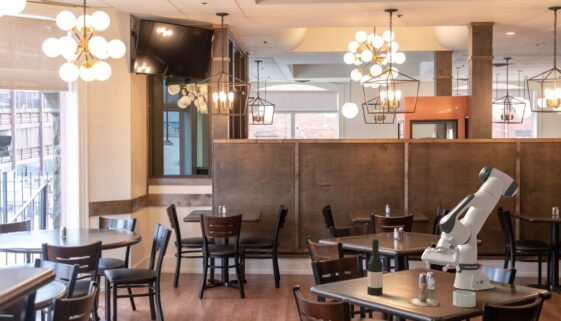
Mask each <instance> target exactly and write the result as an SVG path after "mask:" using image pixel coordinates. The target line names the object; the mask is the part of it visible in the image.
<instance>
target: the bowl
mask: <svg viewBox="0 0 561 321" xmlns="http://www.w3.org/2000/svg"><path fill="white" fill-rule="evenodd" d="M476 298H477V296H476V292H475V291H472V290H455V291H454V290H453V291H452V305H453V306H455V307H459V308H460V307H461V308H474V307H476V306H477V305H476V303H477V301H476V300H477V299H476Z"/></svg>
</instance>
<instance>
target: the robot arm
mask: <svg viewBox="0 0 561 321" xmlns="http://www.w3.org/2000/svg"><path fill="white" fill-rule="evenodd" d="M478 180H479V181H480V182H481V183H482V185H481V186H480V188H478V190H477V192H474V193H469V194H468V195H466V196H465V197H463V199H461V200H460V201H459V202H458V203H457V204H456V206H455V207H453V208H452V209H451V210H450V211H449V212H448V213H447V214H445V215H444V216H443V217H442V218H440V220H439V230H440V231H441V234H440V238H439V240H438V242H437V245H436V246H435V247H429V246H428V248H425V250H424V252H423V254H422V255H421V257H420V258H421V260H422V262H423V263H425V264H426V267H425V268H426V270H431V266H430V264H431V265H433V264H434V265H439V266H443V268H442V272H445V273H446V272H447V270H448V269H450V268H451V267H455V278H454V284H453V288H456V289H459V290H468V291H482V290H488V289H494V288H495V286H494V285H493V284H491V281H490V277H489V275H487V274H486V273H485V272H484V271H482V270H481V269H480V268H483V267H484V264H483V263H478V245H477V242H478V241H477V238H478V237H477V236H478V233H480V231H481V229H482V228H483V225H484V224H485V222H486V220H487V218H488V217H489V215H490V214H491V213H492V211H493V210H494V208H495V207H496V206H497V204H498V202H499V201H500V198H503V199H504V198H505V199H510V198H512V197H514V196H515V195H516V194H517V193H518V191H519V186H520V185H519V183H518V182H517V180H516V179H513V178H512V177H511V176H510V175H508V174H507V173H505V172H503V171H501V170H499V169H497V168H495V167H493V166H492V165H486V166H484V167H482V168H481V170H480V172H479V174H478ZM467 209H468V210H467ZM466 210H467V212H466V213H465V215H464V217H463V218H461V219H459V218H460V216H461V215H462V214H463V213H464V212H465V211H466Z"/></svg>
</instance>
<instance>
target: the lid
mask: <svg viewBox="0 0 561 321" xmlns="http://www.w3.org/2000/svg"><path fill="white" fill-rule="evenodd" d="M427 294H428V283H420V295H419V296H420V297H419V298H417V297H416V298H411V299H409V300H408V304H410V305H413V306H415V307H426V308H427V307H435V306H439V301H438V300H436V299H432V298H428V295H427Z"/></svg>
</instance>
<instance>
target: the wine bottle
mask: <svg viewBox="0 0 561 321" xmlns="http://www.w3.org/2000/svg"><path fill="white" fill-rule="evenodd" d="M379 242H380V241H379V238H373V239H372V242H371V243H372V246H371V247H372V250H371V251H372V252H371V254H372V256H371V257H370V258H369V260H368V262H367V290H366V291H367V295H369V296H374V295H375V296H382V295H383V289H384V288H383V287H384V285H383V284H384V282H383V280H384V279H383V278H384V274H383V272H384V263H383V261H382V260H381V257H380V256H379V254H380V253H379V252H380V251H379ZM375 296H374V297H375Z"/></svg>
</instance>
